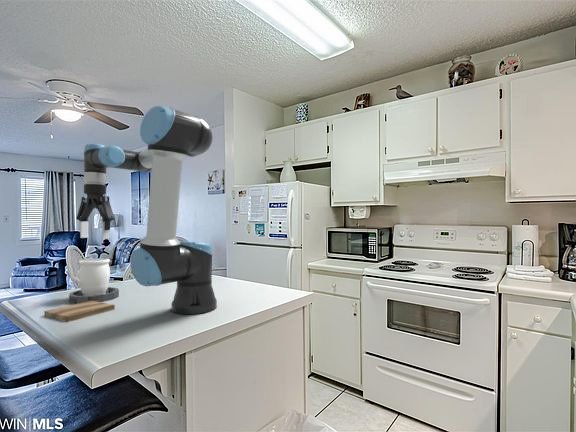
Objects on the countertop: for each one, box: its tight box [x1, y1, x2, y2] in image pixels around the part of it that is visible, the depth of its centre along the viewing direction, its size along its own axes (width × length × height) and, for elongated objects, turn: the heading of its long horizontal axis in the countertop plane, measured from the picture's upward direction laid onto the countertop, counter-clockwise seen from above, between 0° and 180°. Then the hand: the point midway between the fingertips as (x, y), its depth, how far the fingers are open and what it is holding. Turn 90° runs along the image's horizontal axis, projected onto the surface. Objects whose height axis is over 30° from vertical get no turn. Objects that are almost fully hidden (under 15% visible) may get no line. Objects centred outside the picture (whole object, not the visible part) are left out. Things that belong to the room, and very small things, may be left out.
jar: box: [78, 257, 111, 296], centre depth 125 cm, size 11×10×15 cm
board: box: [43, 301, 116, 323], centre depth 106 cm, size 13×15×2 cm
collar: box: [68, 286, 120, 304], centre depth 125 cm, size 16×16×2 cm
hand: (94, 238), depth 125 cm, fingers open, 13 cm apart
